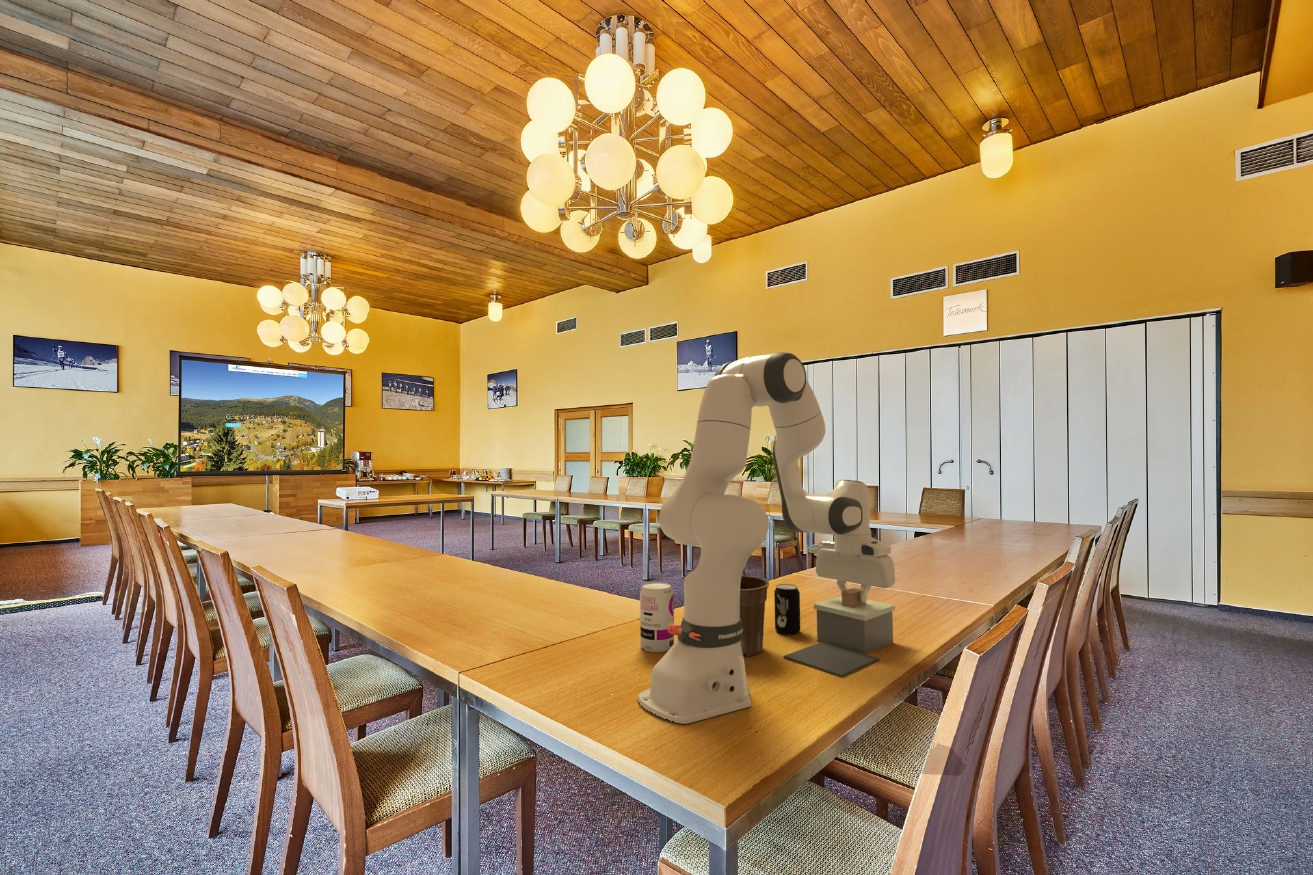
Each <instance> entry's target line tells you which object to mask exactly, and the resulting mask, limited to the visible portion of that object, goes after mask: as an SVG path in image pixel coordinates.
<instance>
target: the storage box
mask: <svg viewBox="0 0 1313 875" xmlns="http://www.w3.org/2000/svg"><path fill="white" fill-rule="evenodd" d="M893 624H894V621H893V611H891V612H888V613H886V614H883V615H880V616H877V617H874V618H872V619H869V620H866V621H864V620H859V619H855V618H851V617H847V616H842V615H838V614H834V613H830V612H825V611H821V610H817V609H816V636H817V637H816V638H817V639H816V641H817V642H818V643H820V642H824V643H828V644H831V645H835V646H838V647H842V648H845V649H849V650H852V651H856V652H859V653H863V654H866V655H869V654H871V653H872V652H874V651H877V650H879V649H882V648H884V647H886V645H887V646H889V645H891V644H893V643H894V625H893Z"/></svg>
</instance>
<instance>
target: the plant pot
mask: <svg viewBox="0 0 1313 875" xmlns="http://www.w3.org/2000/svg"><path fill="white" fill-rule="evenodd" d="M769 586H770V582H769V580H767V579H766V578H762V577H757V576H752V575H742V577H741V584H740V618H741V619H742V627H743V638H742V639H741V648H742V653H743V655H746V656H748V657H749V656H753V655H754V656H755V655H757V654H759V653H761V652H762V650H763V647H764V646H763V645H764V627H765V610H766V601H767V597H768V587H769Z"/></svg>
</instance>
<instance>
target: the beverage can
mask: <svg viewBox="0 0 1313 875" xmlns="http://www.w3.org/2000/svg"><path fill="white" fill-rule="evenodd" d="M798 588H799V587H798V585H795V584H793V583H779V584H776V585H775V589H774V591H773V592H774V594H773V597H774V629H775V631H776V632H777V633H778V634H780V635H785V636H794V635H798V634H799V633H800V631H801V596H800V595H801V592H800V591H799V589H798Z"/></svg>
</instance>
